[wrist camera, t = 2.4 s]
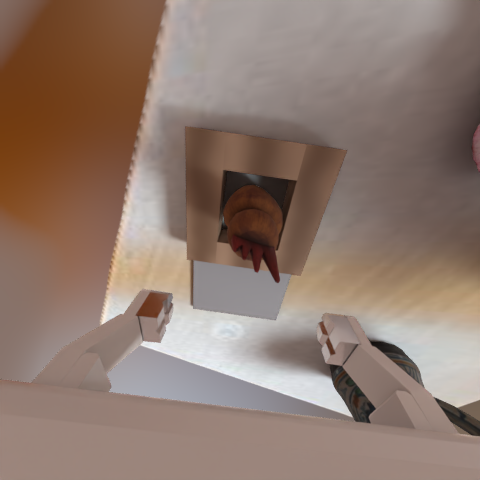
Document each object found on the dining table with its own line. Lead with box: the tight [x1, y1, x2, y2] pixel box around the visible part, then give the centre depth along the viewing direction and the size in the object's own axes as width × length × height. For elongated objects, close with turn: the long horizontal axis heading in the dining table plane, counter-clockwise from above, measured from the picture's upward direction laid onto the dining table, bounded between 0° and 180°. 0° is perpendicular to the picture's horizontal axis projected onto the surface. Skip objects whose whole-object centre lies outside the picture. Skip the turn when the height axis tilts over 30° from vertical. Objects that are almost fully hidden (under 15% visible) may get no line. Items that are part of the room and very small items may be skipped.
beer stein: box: [330, 342, 480, 437], centre depth 30 cm, size 17×19×25 cm
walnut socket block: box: [185, 126, 347, 276], centre depth 24 cm, size 16×16×4 cm
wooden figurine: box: [223, 185, 283, 283], centre depth 19 cm, size 7×6×15 cm
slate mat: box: [193, 261, 291, 320], centre depth 33 cm, size 16×12×1 cm
